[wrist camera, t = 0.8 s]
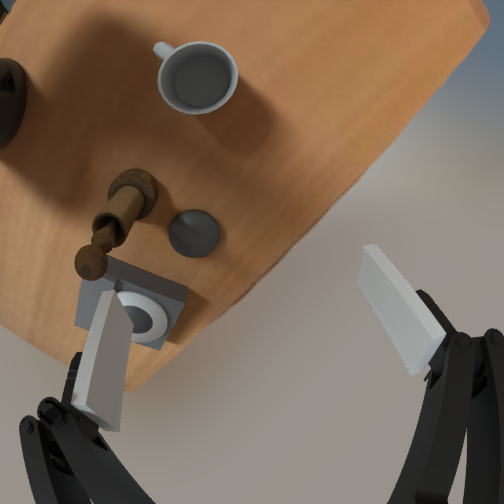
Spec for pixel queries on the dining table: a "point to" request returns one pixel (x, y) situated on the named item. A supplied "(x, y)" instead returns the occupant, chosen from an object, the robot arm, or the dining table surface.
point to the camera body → (135, 301)
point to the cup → (196, 76)
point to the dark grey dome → (194, 233)
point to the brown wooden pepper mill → (116, 220)
